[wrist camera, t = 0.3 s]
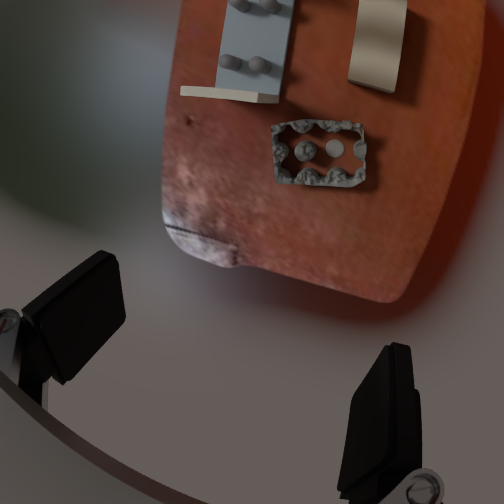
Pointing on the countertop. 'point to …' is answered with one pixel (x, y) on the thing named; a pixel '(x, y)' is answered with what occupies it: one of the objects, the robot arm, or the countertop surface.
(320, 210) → the countertop surface
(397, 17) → the beige wavy block
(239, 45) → the peg stand
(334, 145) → the egg carton
